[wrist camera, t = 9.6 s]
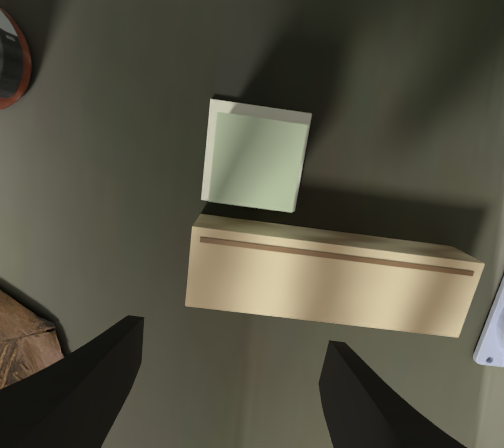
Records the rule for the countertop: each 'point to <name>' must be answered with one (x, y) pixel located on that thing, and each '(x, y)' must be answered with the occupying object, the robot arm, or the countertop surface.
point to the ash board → (329, 276)
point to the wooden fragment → (24, 342)
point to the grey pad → (252, 112)
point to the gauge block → (256, 162)
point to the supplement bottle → (13, 61)
